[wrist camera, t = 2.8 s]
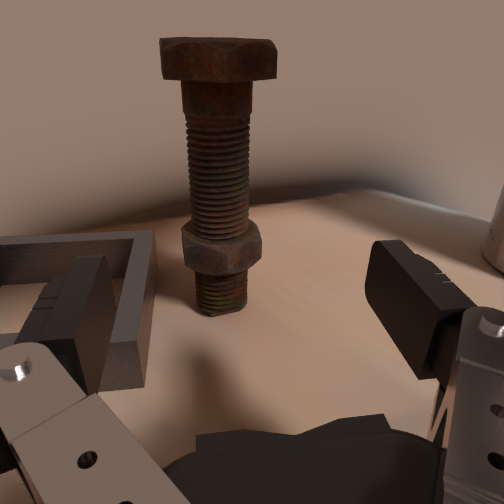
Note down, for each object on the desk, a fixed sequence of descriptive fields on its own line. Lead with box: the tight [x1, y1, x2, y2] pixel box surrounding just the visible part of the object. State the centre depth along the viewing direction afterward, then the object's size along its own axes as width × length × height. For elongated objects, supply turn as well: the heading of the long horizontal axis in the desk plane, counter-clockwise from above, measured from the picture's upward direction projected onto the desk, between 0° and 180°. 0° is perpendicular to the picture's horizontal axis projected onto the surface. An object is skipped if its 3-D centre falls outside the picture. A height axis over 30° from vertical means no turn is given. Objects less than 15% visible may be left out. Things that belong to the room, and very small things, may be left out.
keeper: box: [0, 230, 158, 392], centre depth 23 cm, size 11×11×3 cm
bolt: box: [159, 37, 277, 317], centre depth 22 cm, size 6×5×15 cm
